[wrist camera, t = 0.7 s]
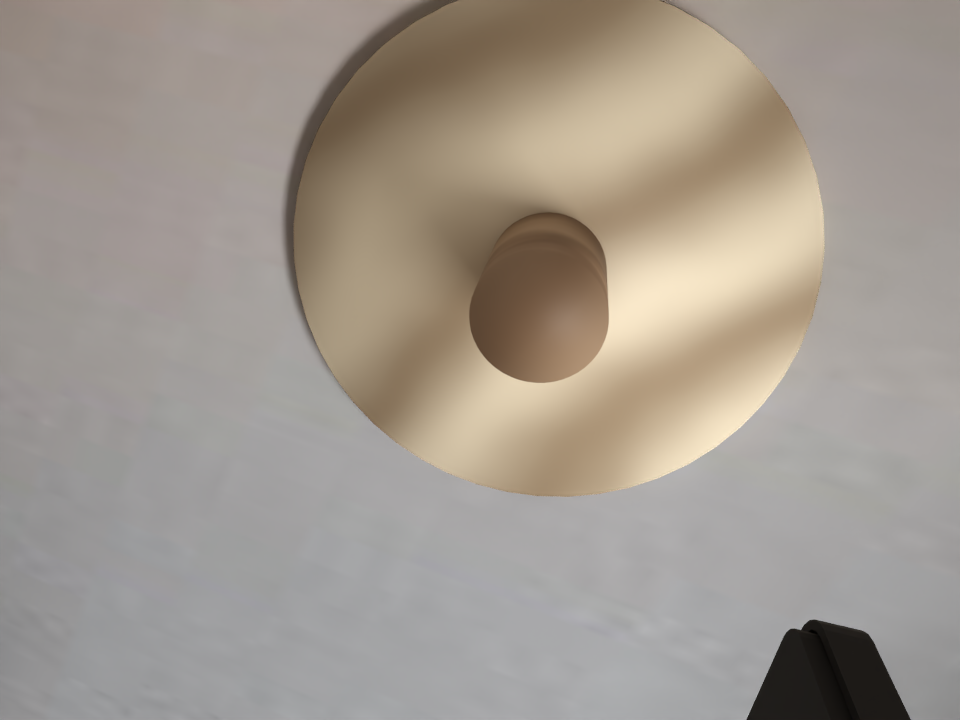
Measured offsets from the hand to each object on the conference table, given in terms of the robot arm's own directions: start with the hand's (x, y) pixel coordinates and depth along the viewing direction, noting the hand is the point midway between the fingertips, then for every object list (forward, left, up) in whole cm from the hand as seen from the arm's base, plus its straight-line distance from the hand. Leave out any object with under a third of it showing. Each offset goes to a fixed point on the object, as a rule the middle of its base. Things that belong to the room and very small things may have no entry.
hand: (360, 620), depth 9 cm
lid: (-2, 0, -21) cm, 21 cm away
